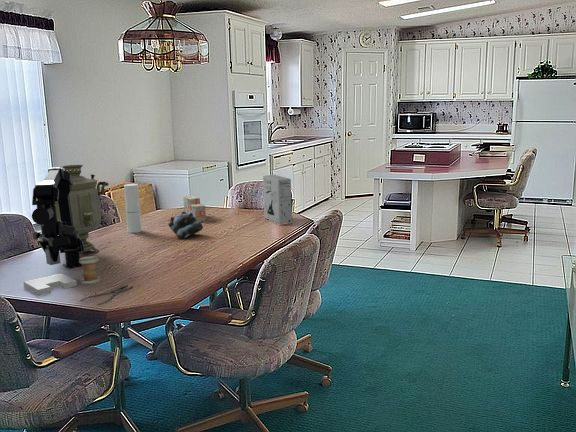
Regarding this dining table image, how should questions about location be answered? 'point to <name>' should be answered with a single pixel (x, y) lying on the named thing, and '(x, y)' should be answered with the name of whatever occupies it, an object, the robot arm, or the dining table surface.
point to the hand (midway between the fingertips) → (53, 260)
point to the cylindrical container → (132, 208)
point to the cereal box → (277, 198)
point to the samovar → (84, 204)
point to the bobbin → (89, 270)
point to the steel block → (49, 258)
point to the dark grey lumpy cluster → (184, 225)
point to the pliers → (111, 293)
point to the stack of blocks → (194, 208)
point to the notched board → (49, 283)
